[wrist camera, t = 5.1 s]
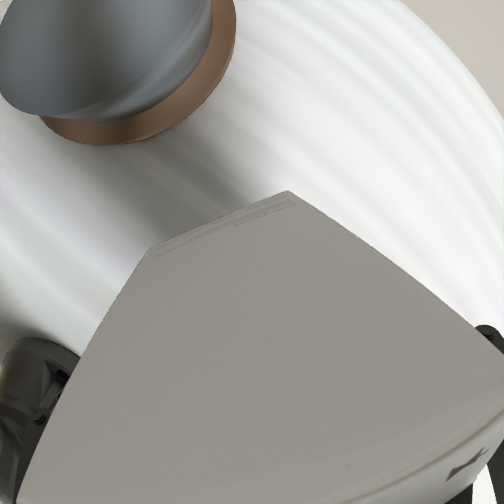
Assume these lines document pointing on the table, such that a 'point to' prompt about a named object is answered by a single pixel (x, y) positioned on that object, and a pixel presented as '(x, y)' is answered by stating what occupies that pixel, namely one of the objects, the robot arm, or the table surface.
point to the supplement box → (272, 377)
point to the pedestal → (113, 63)
